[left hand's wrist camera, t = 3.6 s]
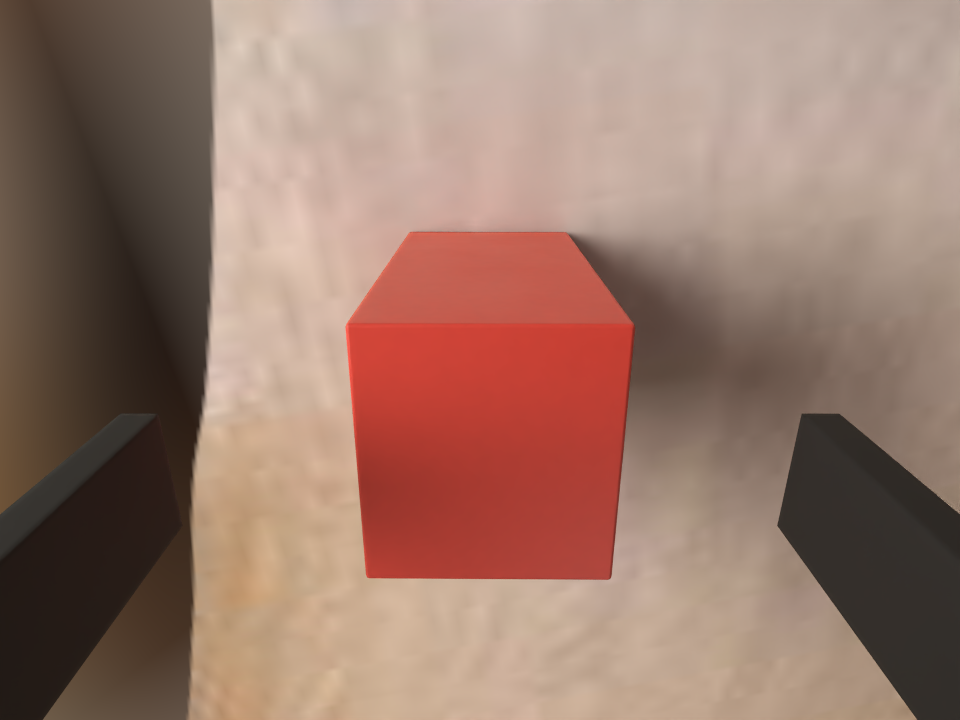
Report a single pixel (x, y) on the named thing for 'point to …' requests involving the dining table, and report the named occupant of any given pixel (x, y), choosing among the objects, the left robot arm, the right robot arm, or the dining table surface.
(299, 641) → the dining table surface
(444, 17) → the dining table surface
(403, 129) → the dining table surface
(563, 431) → the block
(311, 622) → the dining table surface
